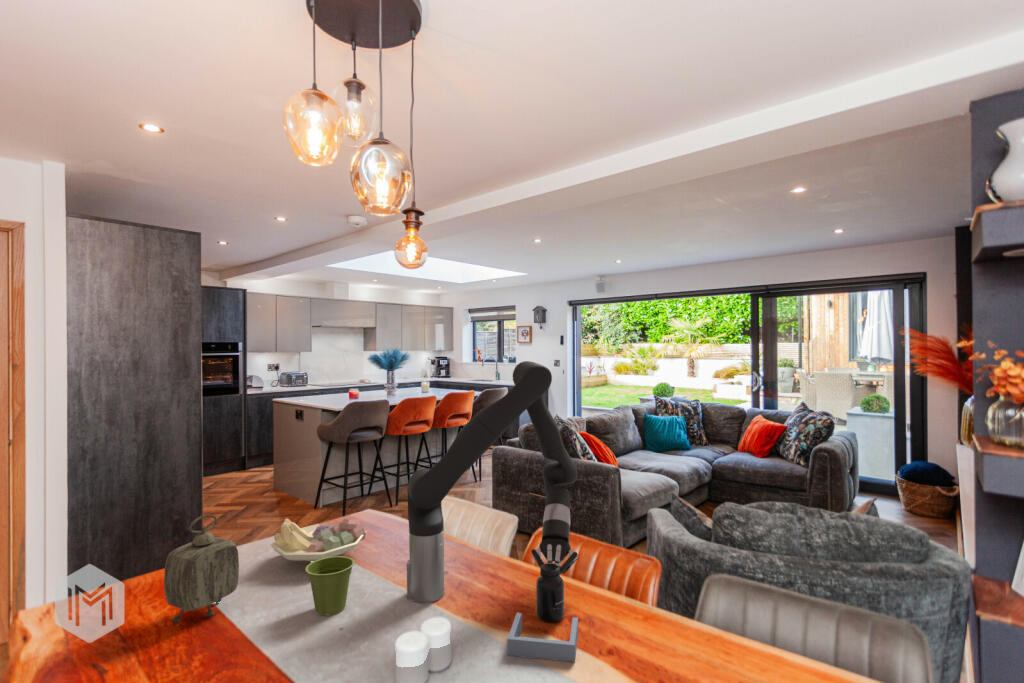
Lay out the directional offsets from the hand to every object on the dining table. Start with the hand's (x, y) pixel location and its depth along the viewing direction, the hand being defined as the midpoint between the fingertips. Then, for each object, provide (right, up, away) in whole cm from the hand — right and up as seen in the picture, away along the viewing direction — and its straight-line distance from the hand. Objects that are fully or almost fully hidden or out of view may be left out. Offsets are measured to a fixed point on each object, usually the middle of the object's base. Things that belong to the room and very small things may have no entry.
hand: (552, 588), depth 131 cm
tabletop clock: (-88, -6, -2) cm, 88 cm away
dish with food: (-71, -6, +31) cm, 78 cm away
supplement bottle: (-1, -5, -5) cm, 7 cm away
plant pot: (-57, -6, 0) cm, 57 cm away
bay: (-3, -4, -16) cm, 17 cm away
